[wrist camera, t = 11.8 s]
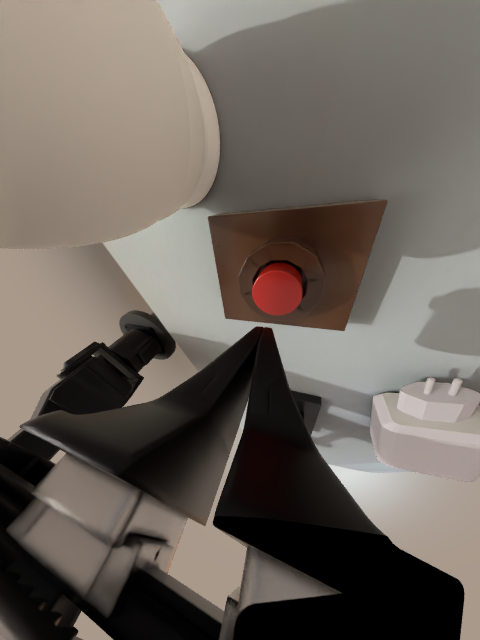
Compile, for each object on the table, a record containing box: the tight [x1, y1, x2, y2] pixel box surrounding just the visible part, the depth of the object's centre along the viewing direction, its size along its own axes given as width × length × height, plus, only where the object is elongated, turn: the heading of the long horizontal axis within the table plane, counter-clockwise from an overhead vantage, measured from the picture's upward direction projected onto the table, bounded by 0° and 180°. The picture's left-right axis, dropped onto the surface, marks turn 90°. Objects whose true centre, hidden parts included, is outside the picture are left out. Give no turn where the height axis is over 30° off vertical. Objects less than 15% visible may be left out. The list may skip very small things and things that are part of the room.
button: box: [252, 263, 303, 315], centre depth 13 cm, size 4×4×2 cm
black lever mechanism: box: [291, 391, 321, 436], centre depth 26 cm, size 11×9×10 cm
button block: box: [208, 199, 387, 331], centre depth 15 cm, size 12×10×4 cm
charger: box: [370, 377, 480, 482], centre depth 19 cm, size 5×9×15 cm
